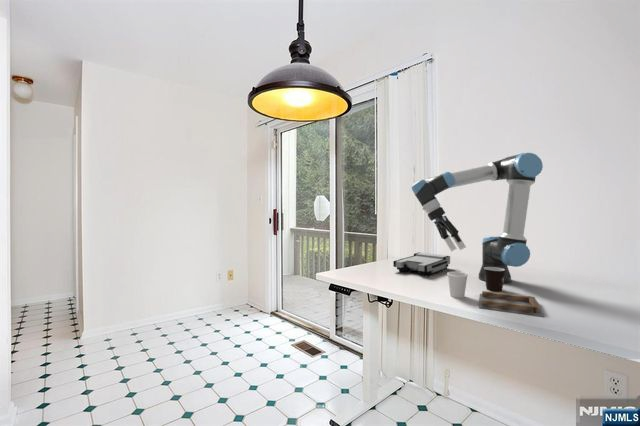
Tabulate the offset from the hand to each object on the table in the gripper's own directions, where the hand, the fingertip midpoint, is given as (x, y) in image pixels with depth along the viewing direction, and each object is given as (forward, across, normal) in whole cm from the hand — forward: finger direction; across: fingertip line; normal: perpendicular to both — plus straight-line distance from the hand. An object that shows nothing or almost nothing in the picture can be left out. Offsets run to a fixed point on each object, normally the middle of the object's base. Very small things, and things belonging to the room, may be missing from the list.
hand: (458, 249), depth 145 cm
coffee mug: (+25, -8, +7) cm, 27 cm away
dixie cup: (+17, +4, -13) cm, 22 cm away
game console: (+6, -46, -12) cm, 48 cm away
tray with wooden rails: (+27, +14, +1) cm, 30 cm away
